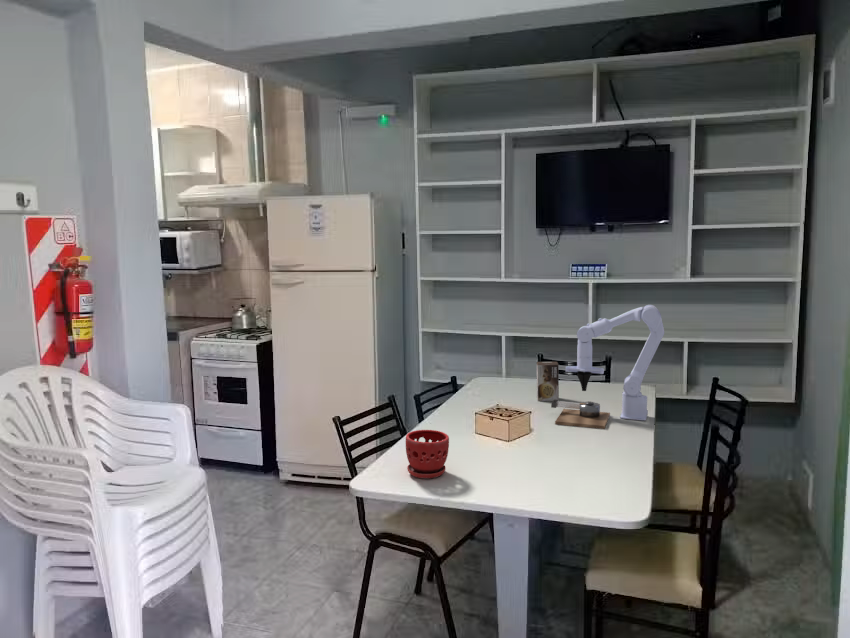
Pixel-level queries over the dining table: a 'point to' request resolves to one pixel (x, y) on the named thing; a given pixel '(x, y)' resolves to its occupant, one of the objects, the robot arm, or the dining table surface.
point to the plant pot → (427, 453)
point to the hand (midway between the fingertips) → (584, 390)
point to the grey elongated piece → (580, 407)
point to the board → (582, 419)
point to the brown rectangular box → (547, 381)
